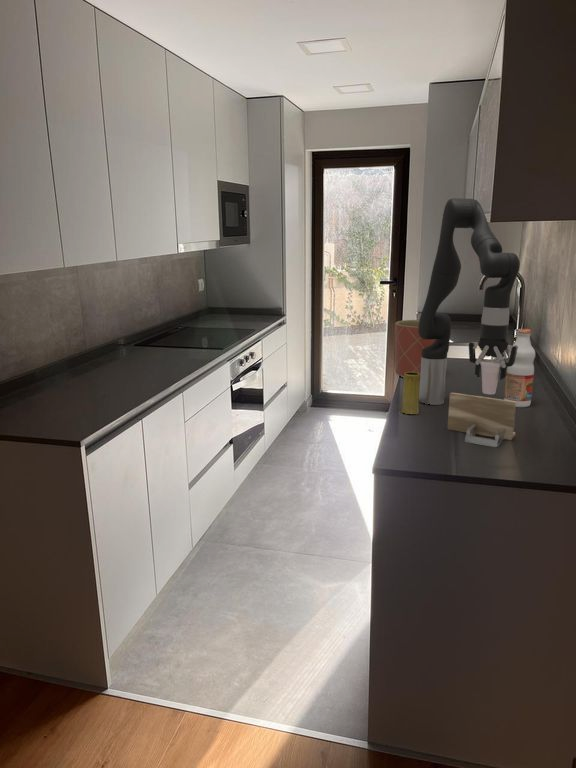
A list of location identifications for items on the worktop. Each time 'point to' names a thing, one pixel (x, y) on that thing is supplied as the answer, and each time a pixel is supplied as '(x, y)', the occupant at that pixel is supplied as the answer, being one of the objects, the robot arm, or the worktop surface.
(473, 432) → the white u-shaped frame
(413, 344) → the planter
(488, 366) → the smoothie
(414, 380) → the vase
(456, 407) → the wall board
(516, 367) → the fruit juice
